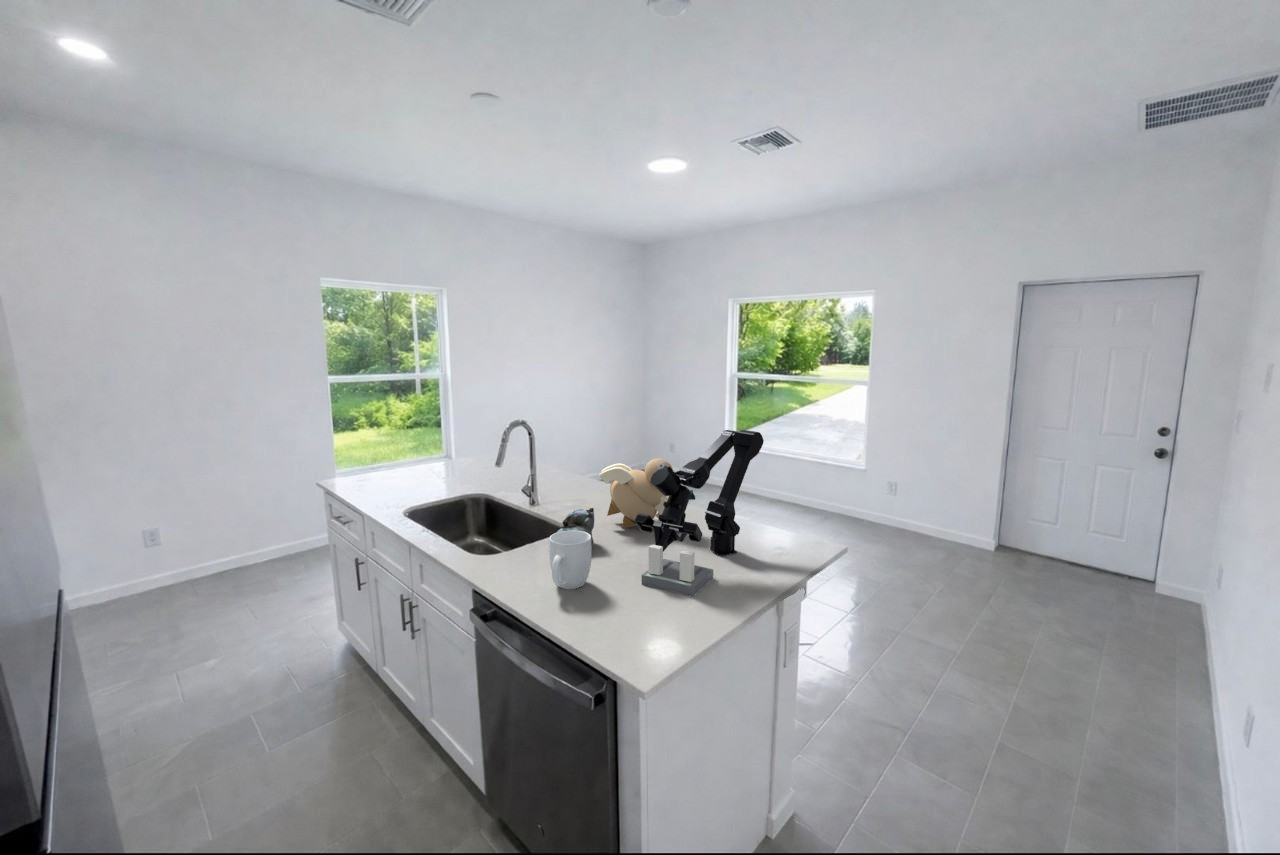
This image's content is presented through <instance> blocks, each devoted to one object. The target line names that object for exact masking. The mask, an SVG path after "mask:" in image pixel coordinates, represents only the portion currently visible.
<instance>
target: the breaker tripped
mask: <svg viewBox="0 0 1280 855" xmlns="http://www.w3.org/2000/svg"><path fill="white" fill-rule="evenodd" d="M663 559H664V553H663V547H662V546H657V545H655V544H651V545H650V546H648V570H649V573H651V574H656V575H660V574H662V573H663Z"/></svg>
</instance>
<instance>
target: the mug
mask: <svg viewBox="0 0 1280 855" xmlns="http://www.w3.org/2000/svg"><path fill="white" fill-rule="evenodd" d="M548 540H549V542H548V543H549V544H548V548H549V550H548V552H549V563H550V564H549V565H550V570H551V578H552V581H553V583H554V585H556V586H557V587H559V588H561V589H563V588H564V589H563V590H576V588H577V589H580V588H581V586H582V587H583V586H584V585H585V583H586V581H587V580H588V578H589V574H590V571H591V565H592V554H593V552H592V551H593V550H592V548H593V546H591V535H590V534H589V533H587V532H584V531H576V530H569V531H561V532H555V533H553V534H551V535H550V536H549V539H548ZM579 587H580V588H579Z"/></svg>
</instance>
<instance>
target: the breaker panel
mask: <svg viewBox="0 0 1280 855" xmlns="http://www.w3.org/2000/svg"><path fill="white" fill-rule="evenodd" d="M712 579H714V568H709V567H704V566H700V565H695V564H694V580H693V581H692V582H688V581H683V580H680V561H676V560H672V559H666V558H663V573H662V574H660V575H656V574H651V573H649V569H648V570H646V571H645V572H644V573H642V574H641V585H645V586H649V587H651V588H652V587H653V588H656V589H661V590H664V591H668V592H673V593H678V594H682V595H685V594H686V595H685V596H689V595H690V597H693V596H694V595H695V594H696V595H697V594H698V593H699V592H700V591H701V590H702V589H703V588H704V587H705V586H706V585H708V583H710V582H711V581H712ZM696 595H695V596H696ZM695 596H694V597H695Z"/></svg>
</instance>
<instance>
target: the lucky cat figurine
mask: <svg viewBox="0 0 1280 855" xmlns="http://www.w3.org/2000/svg"><path fill="white" fill-rule="evenodd" d="M594 511H595V510H594V507H589V509H586V508H578V509H574V510H573V511H572V512H570V513H568V514H567V515H566V517H565V518H564V519H563V521H562V522H561V523H562V525H563V526H561V527H560V528H559V529H558V530H557V532H561V531H569V530H576V531H584V532H587V533H589V534H590V535H591V546H592V547H593V546H594V544H595V542H594V538H593V529H594V526H595V512H594ZM557 532H556V533H557Z"/></svg>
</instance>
